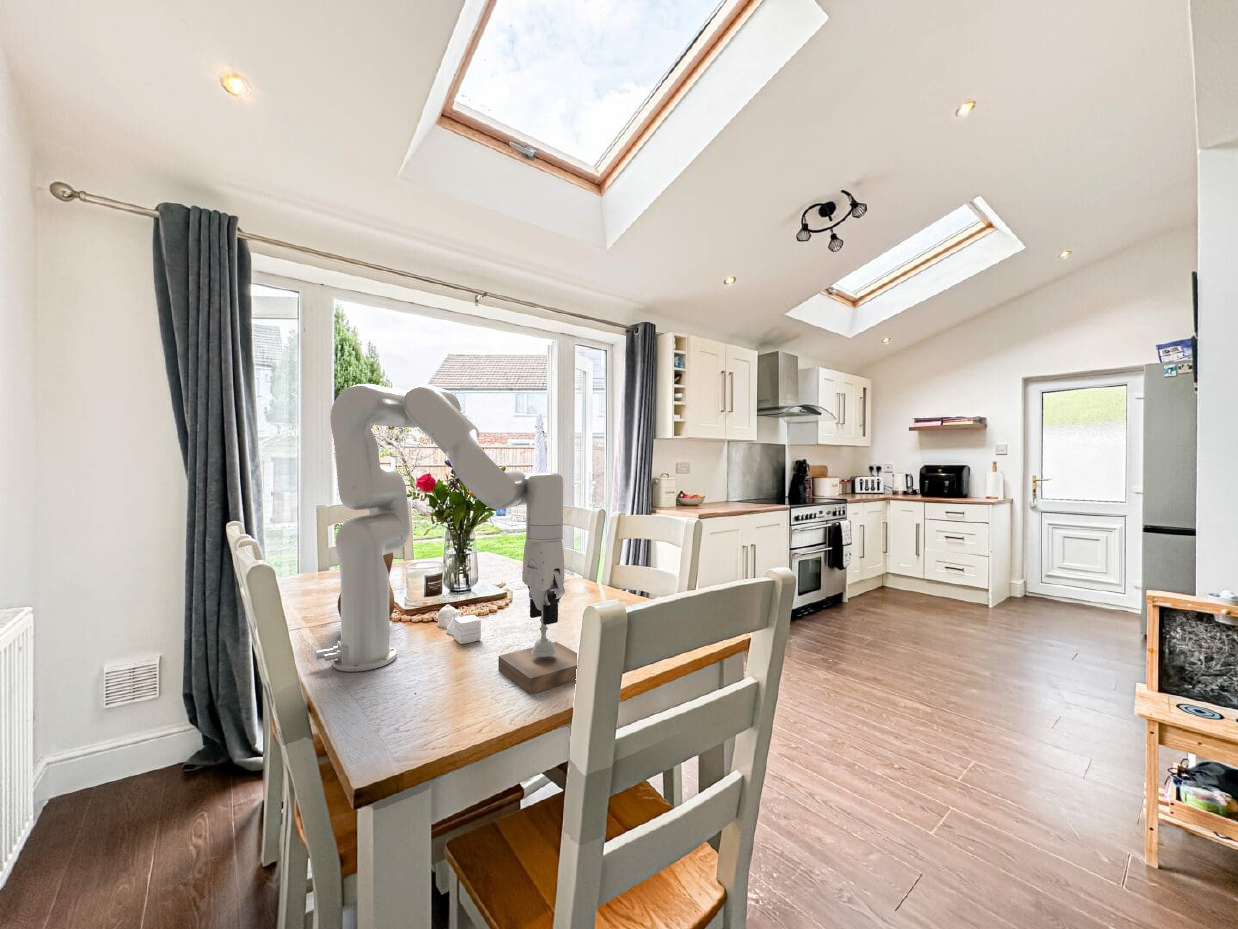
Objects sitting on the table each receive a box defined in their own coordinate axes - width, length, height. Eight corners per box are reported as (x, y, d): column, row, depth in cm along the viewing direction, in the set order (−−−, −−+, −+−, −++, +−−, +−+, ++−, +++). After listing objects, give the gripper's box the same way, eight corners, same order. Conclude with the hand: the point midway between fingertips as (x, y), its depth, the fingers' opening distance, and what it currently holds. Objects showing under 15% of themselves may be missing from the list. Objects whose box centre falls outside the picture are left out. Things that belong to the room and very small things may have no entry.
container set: (481, 641, 127) (481, 619, 127) (460, 646, 124) (460, 623, 123) (454, 620, 143) (454, 600, 143) (434, 624, 140) (434, 603, 140)
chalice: (544, 661, 103) (545, 570, 103) (519, 654, 107) (519, 566, 106) (567, 650, 109) (568, 564, 109) (542, 643, 113) (543, 560, 113)
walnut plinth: (530, 694, 98) (530, 678, 98) (498, 670, 109) (498, 655, 109) (591, 675, 107) (591, 661, 107) (556, 654, 118) (556, 641, 118)
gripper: (509, 529, 112) (508, 613, 112) (549, 539, 99) (548, 635, 99) (540, 526, 117) (539, 607, 117) (582, 536, 103) (581, 627, 103)
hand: (543, 619), depth 108 cm, fingers closed on chalice, 4 cm apart
